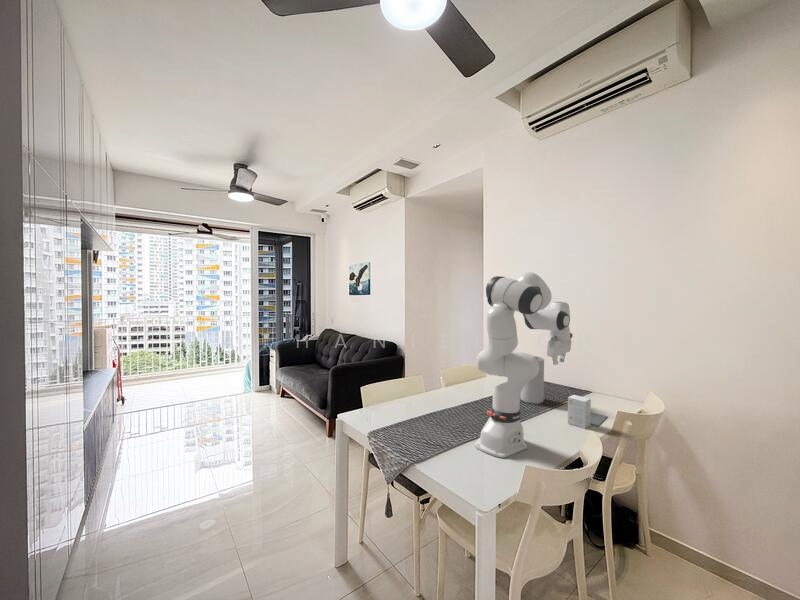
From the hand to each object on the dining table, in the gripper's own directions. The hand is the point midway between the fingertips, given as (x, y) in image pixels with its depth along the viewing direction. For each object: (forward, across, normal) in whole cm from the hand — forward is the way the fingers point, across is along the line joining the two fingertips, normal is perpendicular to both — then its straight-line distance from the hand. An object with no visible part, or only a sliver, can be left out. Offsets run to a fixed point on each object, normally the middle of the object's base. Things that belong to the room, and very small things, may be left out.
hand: (558, 363), depth 153 cm
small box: (+30, +5, -8) cm, 31 cm away
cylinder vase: (+30, +20, +22) cm, 42 cm away
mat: (+29, +17, -10) cm, 35 cm away
